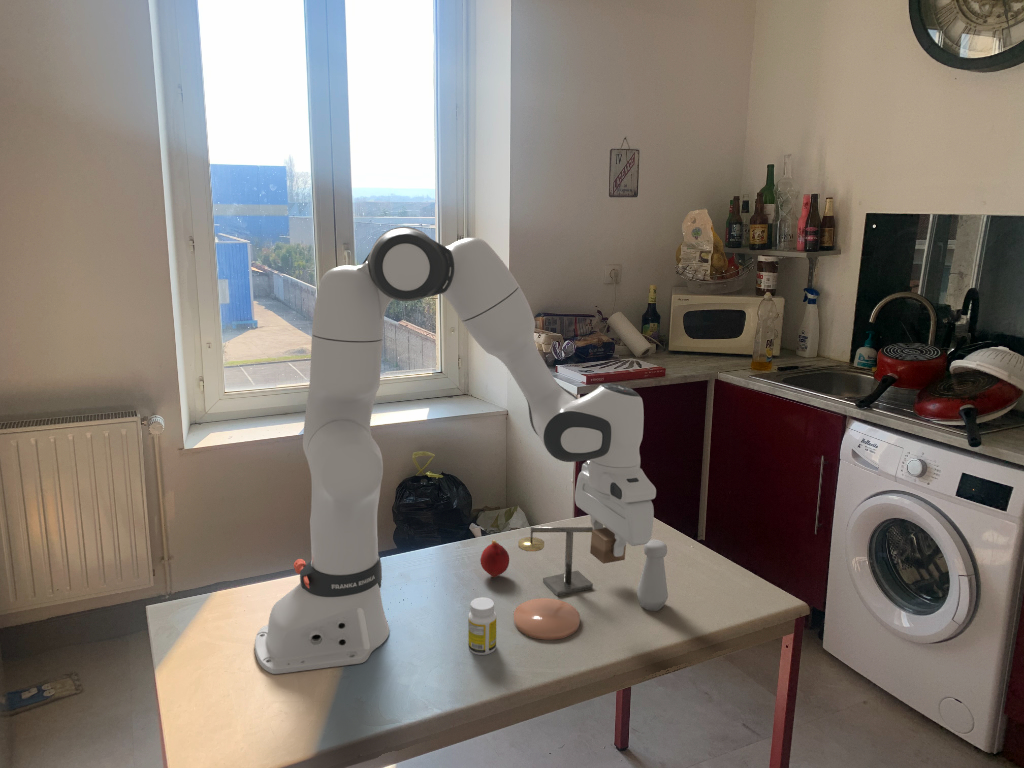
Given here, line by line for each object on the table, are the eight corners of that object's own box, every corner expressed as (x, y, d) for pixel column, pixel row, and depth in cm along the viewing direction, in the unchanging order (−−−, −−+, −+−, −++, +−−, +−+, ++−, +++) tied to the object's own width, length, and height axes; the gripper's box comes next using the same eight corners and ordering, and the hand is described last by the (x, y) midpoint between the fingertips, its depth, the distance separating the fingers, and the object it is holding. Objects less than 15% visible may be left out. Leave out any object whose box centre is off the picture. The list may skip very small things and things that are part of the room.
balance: (525, 603, 140) (527, 535, 137) (511, 589, 145) (513, 523, 142) (621, 581, 149) (625, 517, 146) (606, 568, 154) (609, 506, 151)
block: (603, 563, 130) (605, 540, 129) (590, 553, 134) (591, 530, 133) (624, 559, 132) (626, 536, 131) (611, 549, 136) (613, 526, 135)
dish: (531, 646, 126) (532, 639, 126) (503, 611, 137) (503, 606, 136) (591, 630, 131) (592, 624, 131) (559, 598, 142) (559, 593, 141)
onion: (510, 570, 152) (511, 535, 151) (507, 584, 147) (508, 547, 145) (482, 569, 153) (482, 533, 151) (478, 582, 147) (478, 545, 145)
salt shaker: (642, 594, 144) (646, 533, 141) (671, 602, 141) (675, 540, 138) (631, 607, 139) (635, 544, 136) (660, 616, 136) (665, 552, 133)
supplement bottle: (490, 637, 128) (491, 594, 127) (500, 652, 124) (500, 607, 122) (464, 642, 127) (464, 598, 125) (473, 658, 123) (473, 612, 121)
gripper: (569, 458, 137) (564, 527, 140) (630, 497, 119) (624, 575, 122) (598, 455, 140) (593, 523, 143) (662, 493, 122) (655, 569, 125)
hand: (607, 547), depth 132 cm, fingers closed on block, 4 cm apart
